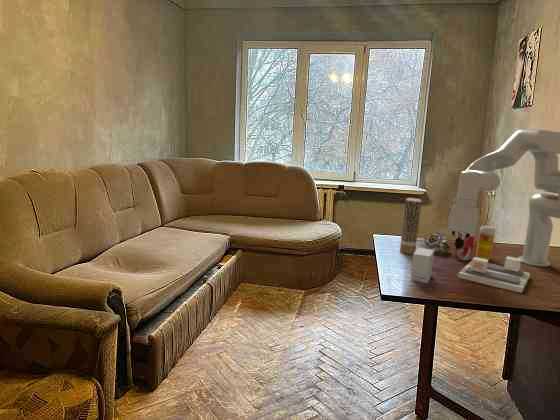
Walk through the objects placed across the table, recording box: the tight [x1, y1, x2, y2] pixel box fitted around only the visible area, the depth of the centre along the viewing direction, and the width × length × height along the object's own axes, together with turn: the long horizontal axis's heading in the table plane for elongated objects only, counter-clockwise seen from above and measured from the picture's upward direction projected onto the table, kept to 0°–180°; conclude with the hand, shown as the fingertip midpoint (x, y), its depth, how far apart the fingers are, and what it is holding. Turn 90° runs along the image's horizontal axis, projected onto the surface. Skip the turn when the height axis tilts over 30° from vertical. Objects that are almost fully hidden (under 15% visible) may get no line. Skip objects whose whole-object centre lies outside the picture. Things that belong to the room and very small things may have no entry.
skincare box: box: [410, 247, 435, 284], centre depth 160 cm, size 10×6×10 cm, turn 152°
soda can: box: [454, 232, 475, 261], centre depth 189 cm, size 7×7×12 cm
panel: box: [457, 260, 531, 294], centre depth 166 cm, size 22×22×3 cm
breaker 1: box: [471, 256, 489, 273], centre depth 163 cm, size 4×5×4 cm
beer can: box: [475, 225, 496, 261], centre depth 191 cm, size 6×6×15 cm
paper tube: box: [399, 197, 423, 255], centre depth 192 cm, size 7×7×25 cm
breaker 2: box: [504, 256, 522, 272], centre depth 167 cm, size 4×5×4 cm
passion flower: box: [420, 230, 453, 255], centre depth 200 cm, size 11×11×12 cm
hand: (458, 248), depth 167 cm, fingers closed
